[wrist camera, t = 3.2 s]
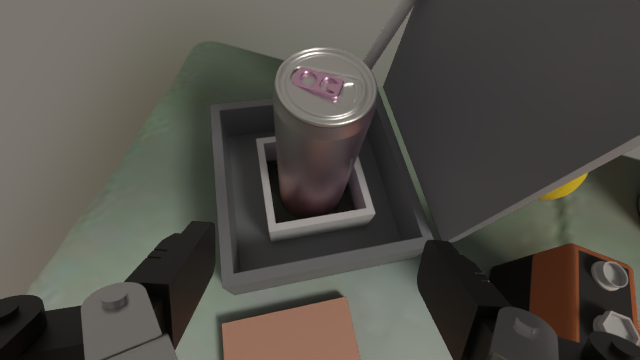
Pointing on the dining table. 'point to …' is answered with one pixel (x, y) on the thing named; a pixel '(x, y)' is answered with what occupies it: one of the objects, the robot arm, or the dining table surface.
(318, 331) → the mat
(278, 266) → the equipment case
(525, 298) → the battery
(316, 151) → the beverage can
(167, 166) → the dining table surface
